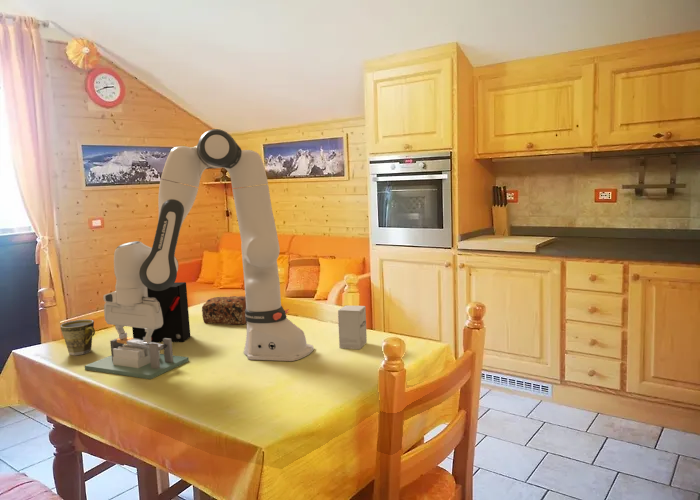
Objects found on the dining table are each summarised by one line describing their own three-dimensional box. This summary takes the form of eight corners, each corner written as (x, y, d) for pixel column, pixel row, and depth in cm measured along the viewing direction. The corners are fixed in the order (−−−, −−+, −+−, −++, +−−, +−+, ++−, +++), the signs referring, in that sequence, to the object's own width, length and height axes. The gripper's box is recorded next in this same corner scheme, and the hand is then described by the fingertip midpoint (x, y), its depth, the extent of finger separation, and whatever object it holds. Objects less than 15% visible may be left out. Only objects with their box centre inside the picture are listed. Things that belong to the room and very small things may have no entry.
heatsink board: (188, 361, 166) (186, 334, 165) (150, 379, 152) (147, 350, 151) (126, 353, 177) (123, 328, 176) (84, 369, 162) (82, 342, 161)
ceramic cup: (56, 355, 178) (53, 325, 176) (83, 346, 186) (80, 318, 185) (83, 359, 172) (80, 329, 171) (109, 350, 181) (106, 321, 179)
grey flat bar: (166, 348, 161) (166, 344, 161) (158, 351, 158) (157, 347, 157) (125, 339, 167) (125, 335, 167) (116, 342, 164) (115, 339, 164)
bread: (256, 319, 214) (255, 294, 213) (242, 326, 205) (240, 300, 203) (217, 316, 221) (215, 293, 220) (201, 323, 211) (199, 298, 210)
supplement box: (360, 349, 170) (359, 311, 169) (338, 348, 173) (337, 310, 171) (367, 342, 177) (366, 305, 176) (346, 341, 180) (344, 304, 178)
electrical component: (192, 335, 195) (188, 281, 192) (181, 343, 185) (176, 286, 182) (146, 335, 197) (141, 282, 194) (132, 344, 187) (127, 287, 184)
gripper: (166, 296, 160) (169, 341, 161) (115, 291, 168) (118, 334, 170) (150, 300, 154) (153, 347, 156) (99, 295, 162) (102, 340, 164)
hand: (135, 340), depth 163 cm, fingers open, 8 cm apart
